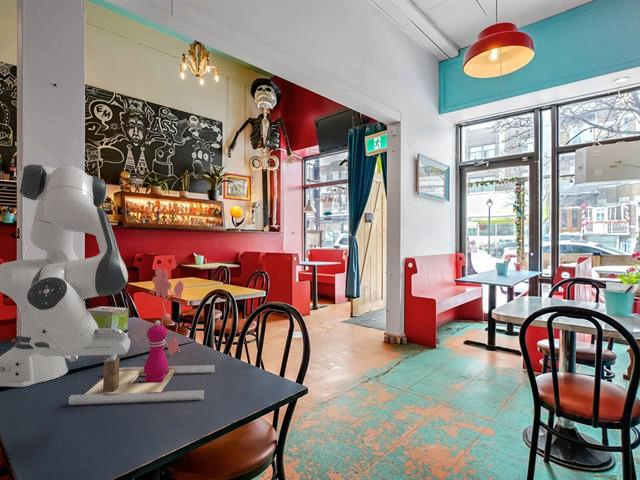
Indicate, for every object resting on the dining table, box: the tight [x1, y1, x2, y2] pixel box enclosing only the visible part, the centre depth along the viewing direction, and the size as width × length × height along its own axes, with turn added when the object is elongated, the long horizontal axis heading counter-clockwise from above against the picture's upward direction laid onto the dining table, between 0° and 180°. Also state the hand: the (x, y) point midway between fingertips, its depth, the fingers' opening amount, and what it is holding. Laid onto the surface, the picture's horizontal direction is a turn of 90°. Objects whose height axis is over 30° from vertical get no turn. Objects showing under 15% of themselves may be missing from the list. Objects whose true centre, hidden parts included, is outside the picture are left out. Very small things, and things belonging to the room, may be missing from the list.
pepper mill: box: [143, 320, 169, 383], centre depth 112 cm, size 7×7×20 cm
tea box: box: [86, 306, 129, 336], centre depth 153 cm, size 15×10×15 cm, turn 77°
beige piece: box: [83, 357, 175, 395], centre depth 108 cm, size 20×19×10 cm
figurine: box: [137, 267, 185, 361], centre depth 138 cm, size 15×26×35 cm, turn 54°
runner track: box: [68, 364, 215, 406], centre depth 109 cm, size 36×22×2 cm, turn 99°
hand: (94, 358), depth 91 cm, fingers open, 8 cm apart
